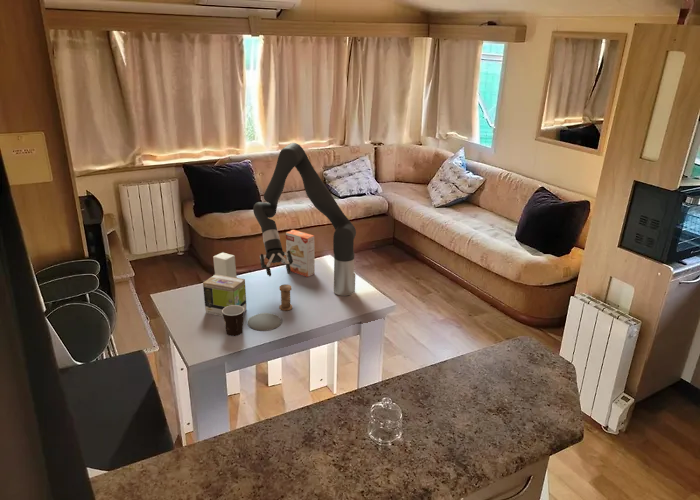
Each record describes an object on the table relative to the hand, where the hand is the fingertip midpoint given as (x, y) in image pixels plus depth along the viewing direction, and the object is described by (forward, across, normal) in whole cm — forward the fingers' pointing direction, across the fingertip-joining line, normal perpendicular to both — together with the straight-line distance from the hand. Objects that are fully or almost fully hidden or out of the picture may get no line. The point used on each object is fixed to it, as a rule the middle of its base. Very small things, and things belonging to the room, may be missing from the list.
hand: (279, 274), depth 241 cm
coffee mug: (+25, -26, -7) cm, 37 cm away
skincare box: (-7, -20, +25) cm, 33 cm away
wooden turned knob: (+15, 0, +3) cm, 15 cm away
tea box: (+11, -25, +7) cm, 28 cm away
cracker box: (-9, +18, +27) cm, 33 cm away
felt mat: (+21, -12, -4) cm, 25 cm away
